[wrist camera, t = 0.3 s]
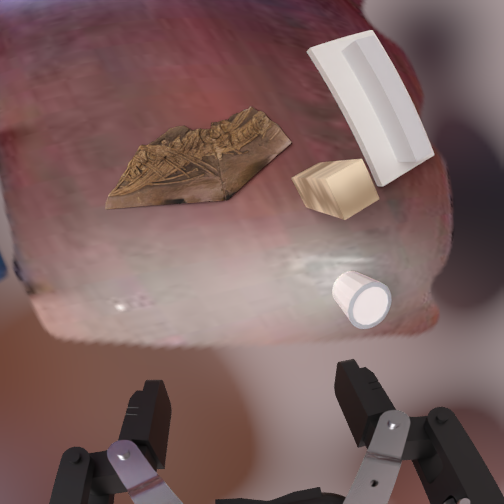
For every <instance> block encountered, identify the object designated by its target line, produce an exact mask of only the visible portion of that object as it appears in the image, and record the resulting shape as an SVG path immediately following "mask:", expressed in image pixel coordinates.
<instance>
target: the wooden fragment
mask: <svg viewBox="0 0 504 504" xmlns="http://www.w3.org/2000/svg"><path fill="white" fill-rule="evenodd" d="M291 143H292V142H291V141H290V140H289V139H288V137H287V136H286V135H285V134H284V132H283V131H282V129H281V128H280V126H279V125H278V124H276V123H275V122H272V121H270V119H269V118H268V117H267V116H266V115H265V113H263V112H262V111H257V110H255V109H254V108H253V107H251V106H250V107H249V109H245V110H243V111H242V112H240V113H236V114H234V115H233V116H231V117H230V118H229V119H228V120H222V121H220V122H213V123H211V129H197V130H193V131H192V130H190V129H189V128H187V127H185V126H178V127H174V128H170V129H169V130H168V131H167V132H166V133H165V134H163V135H161V136H160V137H159V138H157V139H156V140H155V141H154V142H151V143H150V144H148V145H141V146H140V147H139V148H138V151H137V152H136V153H135V155H134V157H133V159H132V160H131V161H130V162H129V164H128V166H127V169H126V171H125V172H124V173H123V175H122V176H121V178H120V180H119V182H118V184H117V185H116V188H115V189H113V190H112V192H111V193H110V194H109V196H108V199H107V201H106V207H105V209H116V208H127V207H139V206H150V205H165V204H178V203H179V204H181V203H193V202H194V203H195V202H204V201H223V200H224V195H225V200H228V199H229V198H230V197H232V195H233V194H234V193H236V192H237V191H238V190H239V189H240V188H241V187H242V186H243V185H244V184H246V183H247V182H248V181H249V180H250V179H251V178H252V177H253V176H254V175H255V174H257V173H258V172H259V171H260V170H261V169H262V168H263V167H264V166H266V165H267V164H268V163H269V162H270V161H271V160H272V159H273V158H275V157H276V156H277V155H278V154H279V153H280V152H282V151H283V150H284V149H285V148H286V147H287V146H288V145H289V144H291Z"/></svg>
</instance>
